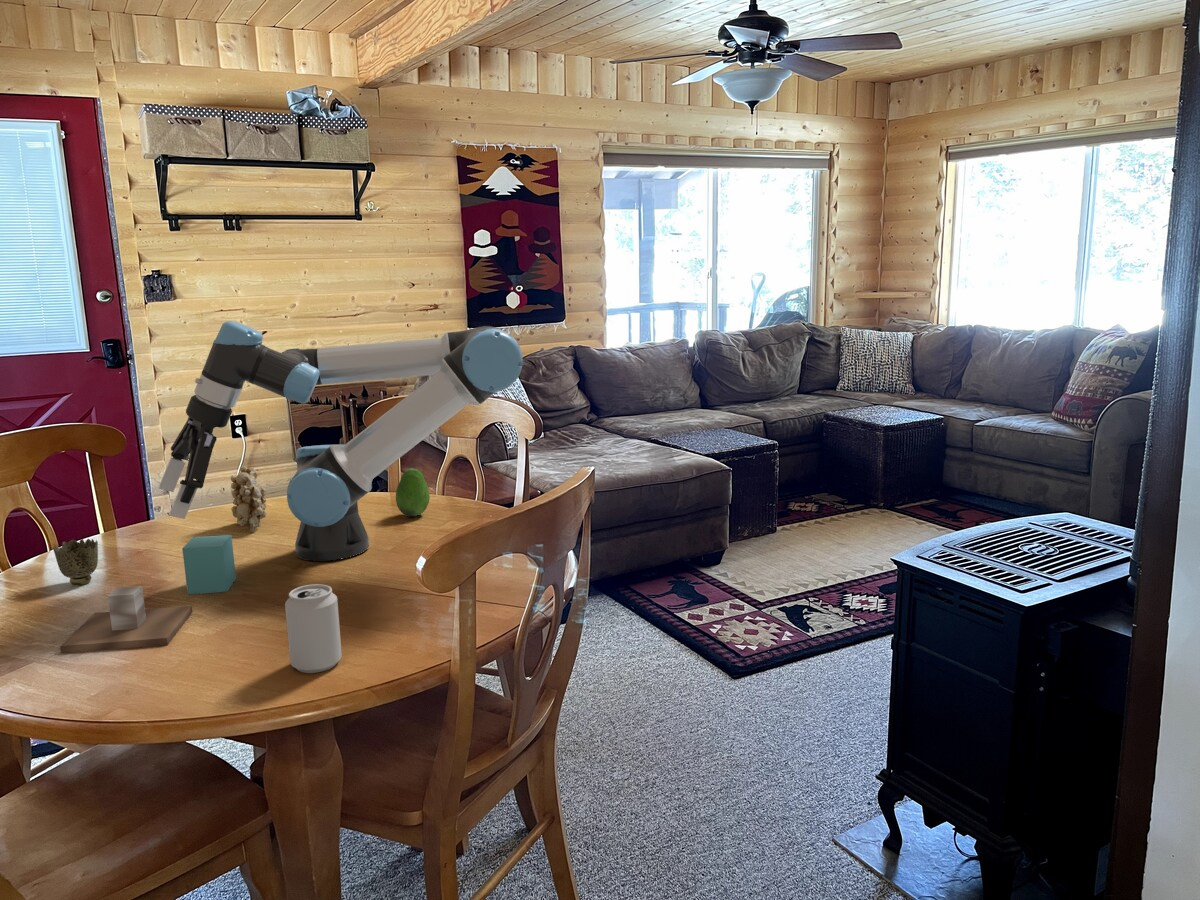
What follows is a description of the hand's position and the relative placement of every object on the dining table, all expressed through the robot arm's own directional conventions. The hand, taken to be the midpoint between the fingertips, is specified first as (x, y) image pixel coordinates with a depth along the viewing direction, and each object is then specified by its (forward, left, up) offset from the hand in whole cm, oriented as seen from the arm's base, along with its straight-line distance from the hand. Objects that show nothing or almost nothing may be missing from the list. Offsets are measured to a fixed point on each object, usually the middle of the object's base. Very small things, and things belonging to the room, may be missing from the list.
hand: (171, 503), depth 167 cm
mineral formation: (-6, -37, -16) cm, 41 cm away
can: (-32, +42, -16) cm, 55 cm away
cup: (+19, -4, -16) cm, 25 cm away
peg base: (+1, +23, -16) cm, 28 cm away
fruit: (-43, -39, -16) cm, 60 cm away
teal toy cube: (-7, +3, -16) cm, 18 cm away
